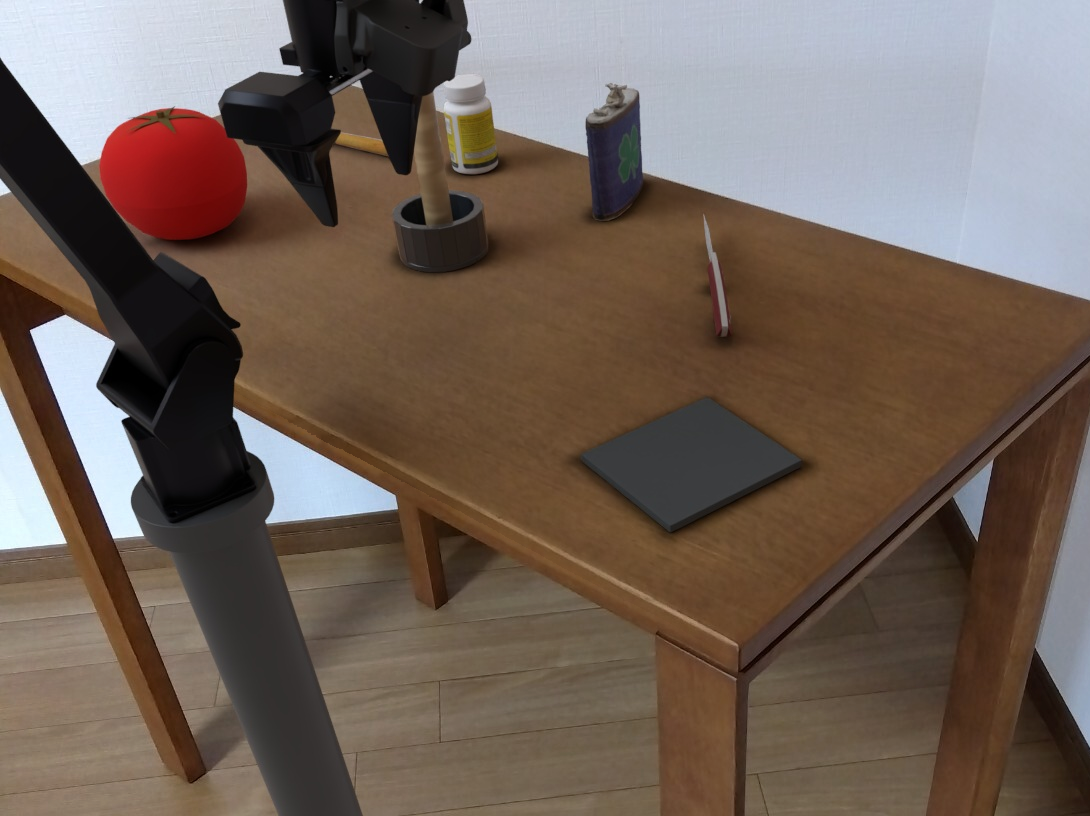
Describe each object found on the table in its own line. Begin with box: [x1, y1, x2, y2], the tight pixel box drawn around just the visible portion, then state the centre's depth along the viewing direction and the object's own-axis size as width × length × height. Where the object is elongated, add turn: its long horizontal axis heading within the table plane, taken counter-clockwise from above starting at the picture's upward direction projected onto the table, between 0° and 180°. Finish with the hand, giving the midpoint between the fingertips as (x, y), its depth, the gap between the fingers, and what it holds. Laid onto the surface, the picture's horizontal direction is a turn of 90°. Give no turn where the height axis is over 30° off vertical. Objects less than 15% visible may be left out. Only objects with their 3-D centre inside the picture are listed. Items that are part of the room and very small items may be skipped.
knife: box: [703, 212, 733, 338], centre depth 94 cm, size 20×1×3 cm, turn 1°
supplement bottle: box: [443, 73, 499, 175], centre depth 114 cm, size 5×5×8 cm
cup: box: [391, 189, 490, 273], centre depth 101 cm, size 8×8×4 cm
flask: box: [585, 82, 644, 222], centre depth 105 cm, size 9×3×11 cm, turn 157°
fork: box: [334, 131, 389, 157], centre depth 123 cm, size 2×2×20 cm
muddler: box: [413, 91, 453, 225], centre depth 98 cm, size 2×2×14 cm
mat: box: [580, 396, 803, 534], centre depth 77 cm, size 11×10×1 cm
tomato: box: [98, 105, 248, 241], centre depth 106 cm, size 12×13×11 cm
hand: (368, 198), depth 81 cm, fingers open, 9 cm apart
